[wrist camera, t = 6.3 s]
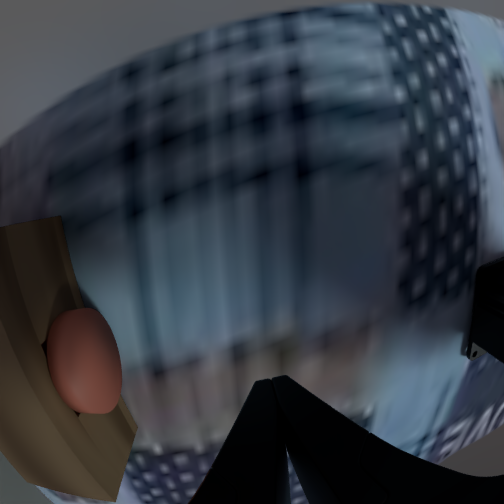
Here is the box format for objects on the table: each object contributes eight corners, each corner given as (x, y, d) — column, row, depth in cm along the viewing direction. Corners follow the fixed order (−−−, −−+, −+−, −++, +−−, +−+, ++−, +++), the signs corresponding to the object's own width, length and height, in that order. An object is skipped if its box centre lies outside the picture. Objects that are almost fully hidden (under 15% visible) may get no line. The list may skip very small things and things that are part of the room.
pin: (99, 293, 12) (51, 335, 8) (129, 375, 13) (102, 435, 8) (-20, 313, 11) (-64, 342, 7) (8, 377, 12) (-27, 414, 8)
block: (60, 215, 11) (-23, 232, 6) (137, 427, 14) (115, 502, 8) (-15, 242, 11) (-86, 265, 5) (59, 424, 13) (26, 482, 8)
